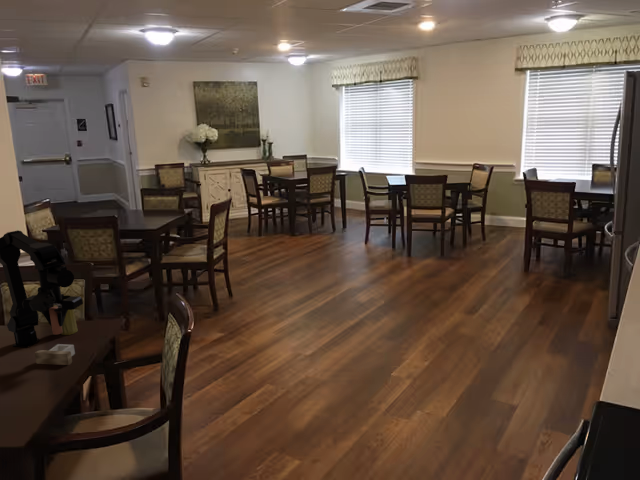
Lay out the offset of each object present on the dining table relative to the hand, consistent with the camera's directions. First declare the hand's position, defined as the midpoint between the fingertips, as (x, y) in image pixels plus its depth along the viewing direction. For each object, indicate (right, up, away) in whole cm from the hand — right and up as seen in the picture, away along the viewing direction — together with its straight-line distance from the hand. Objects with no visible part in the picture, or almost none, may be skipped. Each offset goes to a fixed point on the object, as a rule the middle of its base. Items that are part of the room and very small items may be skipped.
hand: (56, 325), depth 175 cm
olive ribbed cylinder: (-7, -7, +24) cm, 26 cm away
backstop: (0, -12, -1) cm, 12 cm away
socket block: (0, -11, +3) cm, 12 cm away
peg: (0, -2, +1) cm, 2 cm away
